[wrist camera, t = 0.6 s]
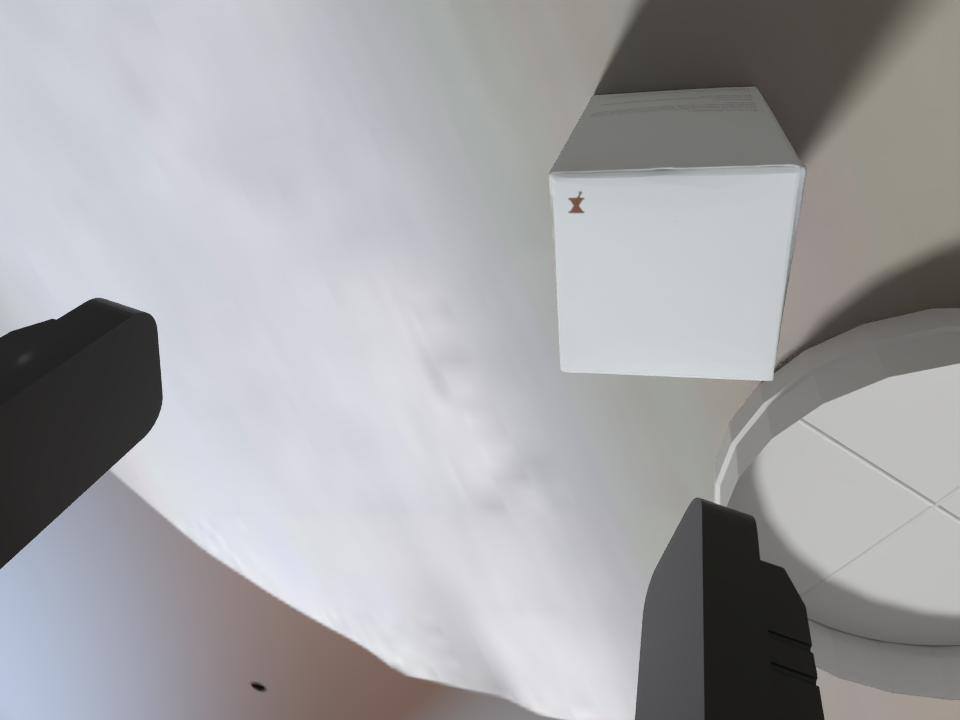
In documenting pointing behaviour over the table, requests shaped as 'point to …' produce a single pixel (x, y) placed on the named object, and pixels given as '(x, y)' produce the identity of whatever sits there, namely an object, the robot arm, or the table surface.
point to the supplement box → (674, 234)
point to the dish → (863, 496)
